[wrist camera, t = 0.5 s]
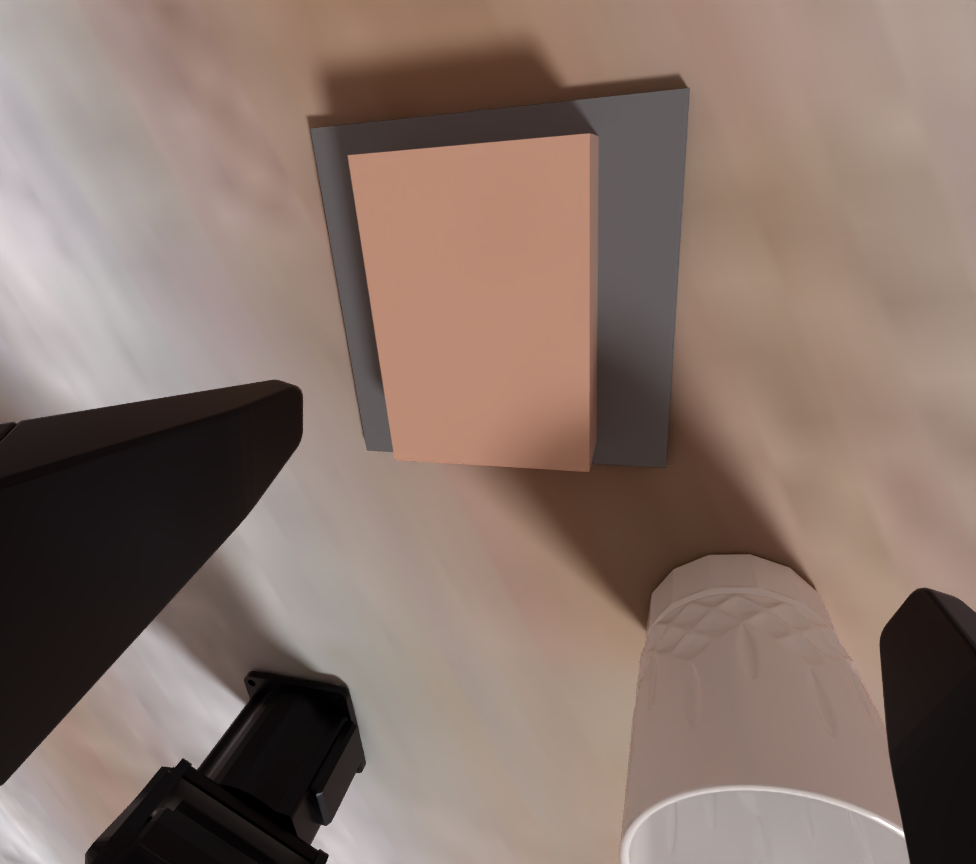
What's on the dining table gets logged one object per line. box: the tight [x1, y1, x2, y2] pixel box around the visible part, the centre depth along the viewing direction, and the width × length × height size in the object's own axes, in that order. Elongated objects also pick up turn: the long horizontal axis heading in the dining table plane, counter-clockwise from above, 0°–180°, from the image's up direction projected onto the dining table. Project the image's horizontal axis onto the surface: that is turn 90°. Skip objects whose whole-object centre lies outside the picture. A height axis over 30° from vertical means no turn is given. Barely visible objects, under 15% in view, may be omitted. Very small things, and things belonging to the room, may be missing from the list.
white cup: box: [620, 554, 910, 864], centre depth 19 cm, size 8×8×10 cm
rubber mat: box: [310, 88, 690, 468], centre depth 20 cm, size 12×12×1 cm
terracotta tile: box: [348, 133, 599, 472], centre depth 19 cm, size 7×10×2 cm
